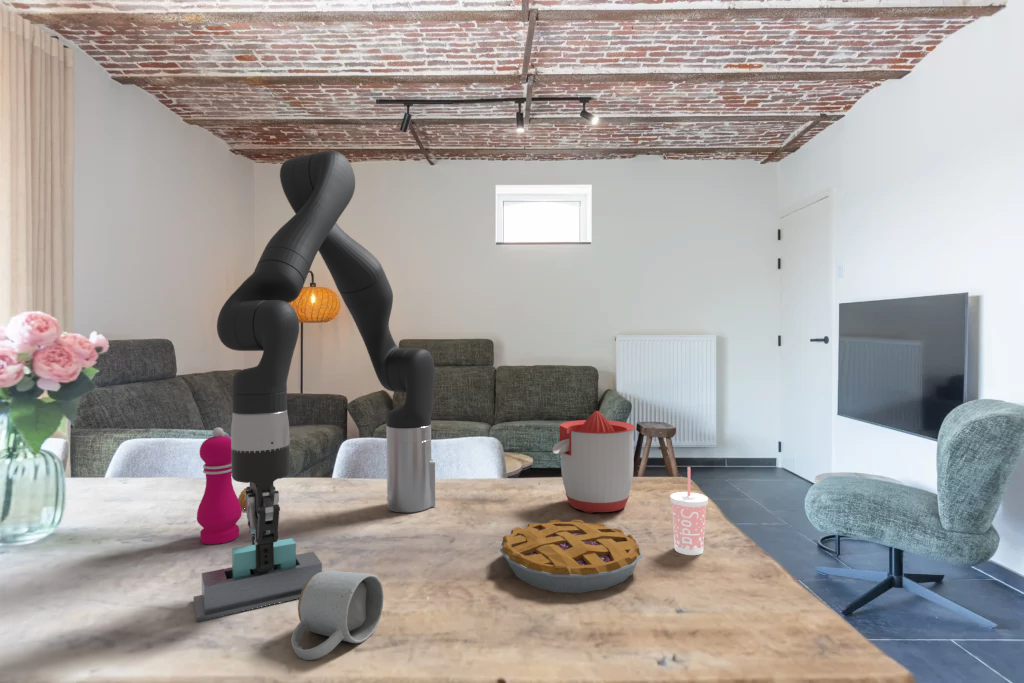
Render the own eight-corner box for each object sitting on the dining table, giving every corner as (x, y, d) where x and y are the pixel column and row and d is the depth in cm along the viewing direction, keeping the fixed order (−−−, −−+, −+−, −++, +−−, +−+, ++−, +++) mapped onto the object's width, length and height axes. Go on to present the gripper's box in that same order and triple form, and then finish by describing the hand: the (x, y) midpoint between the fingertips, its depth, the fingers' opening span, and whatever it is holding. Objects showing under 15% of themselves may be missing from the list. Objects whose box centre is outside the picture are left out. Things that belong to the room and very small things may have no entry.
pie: (545, 612, 80) (545, 574, 80) (478, 556, 99) (478, 526, 99) (671, 579, 90) (671, 546, 89) (588, 535, 109) (588, 507, 109)
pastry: (278, 509, 126) (278, 491, 125) (243, 515, 122) (243, 496, 122) (268, 498, 133) (268, 481, 133) (235, 504, 130) (235, 486, 130)
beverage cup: (664, 551, 100) (664, 468, 100) (678, 540, 105) (678, 461, 105) (700, 559, 97) (700, 473, 96) (713, 548, 101) (713, 466, 101)
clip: (292, 582, 87) (292, 538, 87) (296, 588, 85) (295, 543, 85) (232, 594, 83) (232, 548, 83) (234, 601, 81) (234, 554, 81)
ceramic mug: (332, 613, 79) (331, 556, 79) (385, 624, 76) (384, 565, 76) (273, 656, 69) (271, 591, 69) (331, 671, 66) (329, 602, 66)
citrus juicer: (542, 499, 131) (541, 408, 130) (614, 492, 136) (614, 404, 135) (568, 521, 116) (567, 418, 115) (649, 513, 121) (649, 414, 120)
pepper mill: (224, 547, 103) (222, 431, 103) (187, 544, 105) (185, 430, 104) (250, 533, 110) (248, 424, 110) (216, 530, 112) (214, 423, 111)
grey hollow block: (319, 574, 92) (318, 548, 92) (330, 591, 86) (330, 563, 86) (193, 601, 83) (192, 572, 83) (196, 622, 77) (196, 591, 77)
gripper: (299, 449, 80) (301, 577, 80) (280, 433, 92) (281, 545, 92) (237, 455, 76) (239, 590, 76) (226, 438, 88) (228, 555, 88)
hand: (262, 565), depth 84 cm, fingers open, 3 cm apart
